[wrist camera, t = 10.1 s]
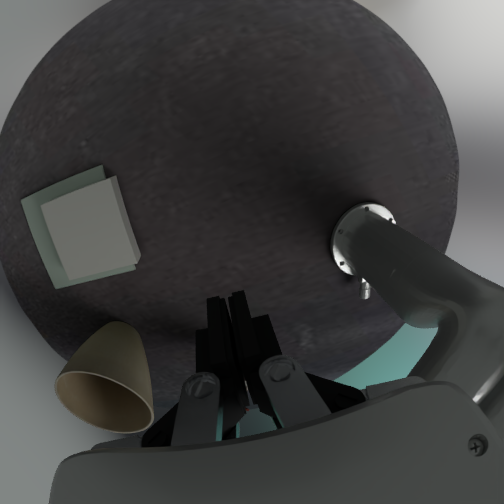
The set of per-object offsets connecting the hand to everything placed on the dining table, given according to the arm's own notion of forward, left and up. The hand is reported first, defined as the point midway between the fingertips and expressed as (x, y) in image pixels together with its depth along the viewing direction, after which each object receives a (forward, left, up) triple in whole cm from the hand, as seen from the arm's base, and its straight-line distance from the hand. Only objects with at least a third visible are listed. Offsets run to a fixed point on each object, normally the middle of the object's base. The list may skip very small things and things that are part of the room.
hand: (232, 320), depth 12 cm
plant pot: (-20, +22, -27) cm, 40 cm away
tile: (0, +12, -25) cm, 28 cm away
